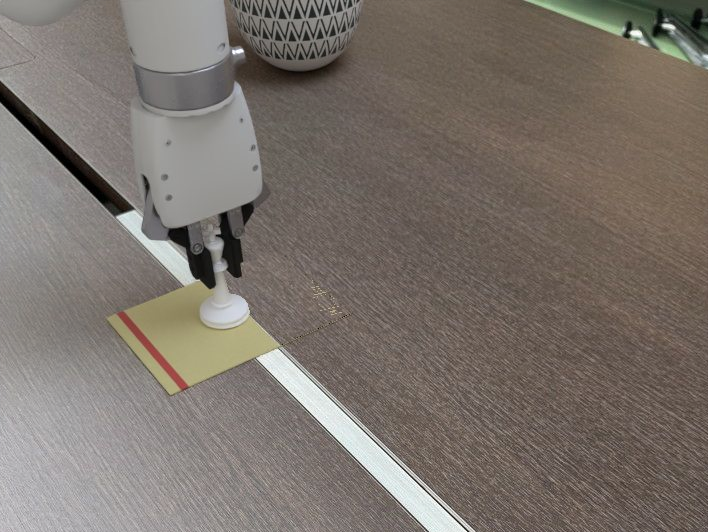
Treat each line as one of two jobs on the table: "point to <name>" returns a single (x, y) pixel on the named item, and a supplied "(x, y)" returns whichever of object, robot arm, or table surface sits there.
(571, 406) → the table surface
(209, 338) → the paper
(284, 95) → the table surface
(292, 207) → the table surface
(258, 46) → the planter
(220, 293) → the chess piece
